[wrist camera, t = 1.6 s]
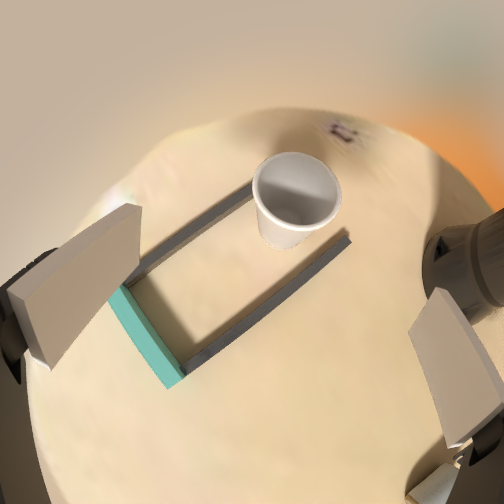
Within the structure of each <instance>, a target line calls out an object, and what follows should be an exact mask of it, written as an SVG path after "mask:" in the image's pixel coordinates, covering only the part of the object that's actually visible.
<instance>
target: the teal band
mask: <svg viewBox="0 0 504 504" xmlns="http://www.w3.org/2000/svg"><path fill="white" fill-rule="evenodd" d="M107 301H108V302H109V304H110V306H111V308H112V309H113V311H114V313H115V314H116V316H117V318H118V319H119V321H120V322H121V324H122V326H123V327H124V329H125V330H126V332H127V334H128V335H129V337H130V338H131V340H132V341H133V343H134V344H135V346H136V347H137V349H138V350H139V352H140V353H141V354H142V356H143V357H144V359H145V360H146V362H147V363H148V364H149V366H150V367H151V368H152V370H153V371H154V373H155V374H156V375H157V377H158V378H159V379H160V381H161V382H162V383H163V384H164V386H165V387H166V388H167V389H169V388H170V387H172V386H173V385H175V384H176V383H178V382H179V381H180V380H182V379H183V378H184V377H186V376H185V375H184V374H183V372H182V371H181V370H180V368H179V367H180V366H181V365H180V364H179V362H178V361H177V360H176V358H175V357H174V356H173V354H172V353H171V352H170V350H169V349H168V348H167V346H166V345H165V343H164V342H163V341H162V339H161V338H160V336H159V335H158V334H157V332H156V331H155V329H154V328H153V326H152V325H151V323H150V322H149V320H148V319H147V318H146V316H145V315H144V313H143V311H142V310H141V308H140V307H139V305H138V304H137V302H136V301H135V299H134V297H133V296H132V294H131V293H130V291H129V289H128V288H126V287H124V286H123V285H122V284H121V285H120V286H119V287H118V289H117V290H116V291H115V292H114V293H113V294H112V296H111V297H110V298H109V299H108V300H107Z"/></svg>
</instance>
